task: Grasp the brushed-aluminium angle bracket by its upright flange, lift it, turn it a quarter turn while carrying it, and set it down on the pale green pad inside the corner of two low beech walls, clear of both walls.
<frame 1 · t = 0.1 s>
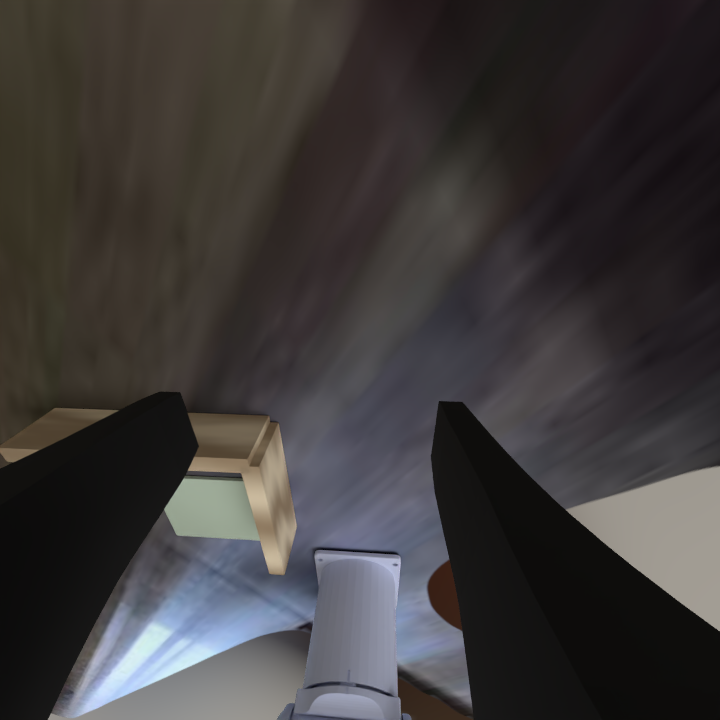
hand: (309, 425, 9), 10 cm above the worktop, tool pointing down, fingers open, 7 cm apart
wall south: (281, 480, 25), on the worktop
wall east: (162, 418, 23), on the worktop
pad: (209, 507, 28), on the worktop
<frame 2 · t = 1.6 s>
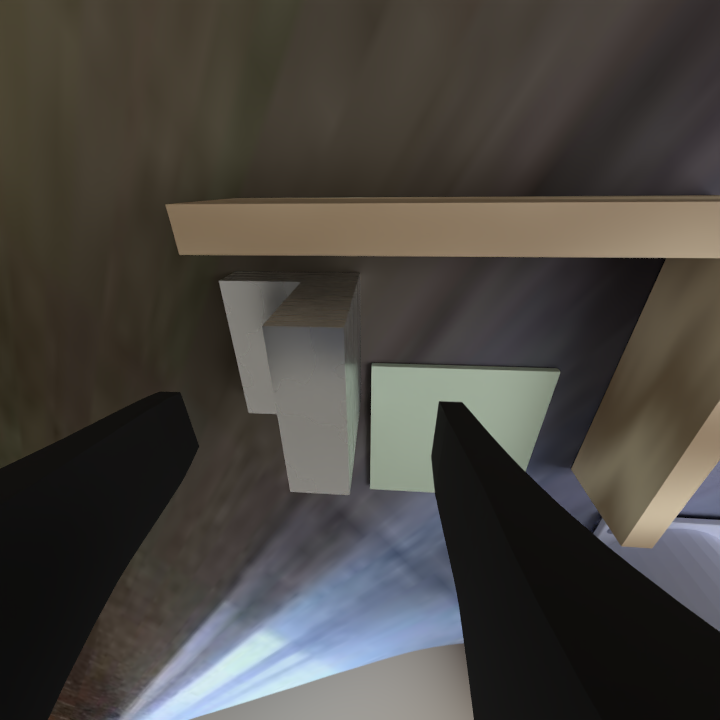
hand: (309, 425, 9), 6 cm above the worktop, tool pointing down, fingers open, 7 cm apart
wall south: (630, 370, 13), on the worktop
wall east: (459, 216, 11), on the worktop
pad: (450, 434, 16), on the worktop
bracket: (304, 340, 14), on the worktop
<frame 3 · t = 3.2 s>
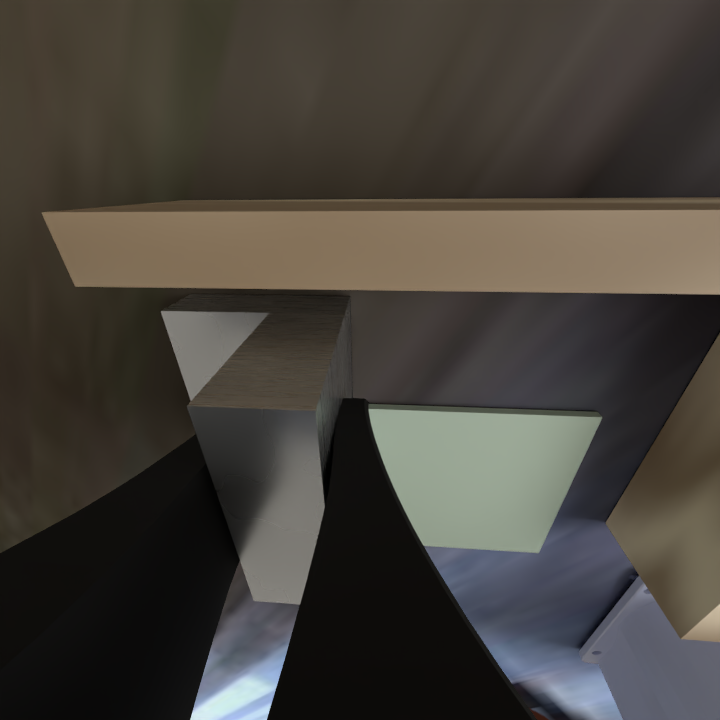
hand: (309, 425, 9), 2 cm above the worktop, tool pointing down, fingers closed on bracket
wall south: (689, 415, 11), on the worktop
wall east: (480, 224, 8), on the worktop
pad: (462, 484, 13), on the worktop
bracket: (281, 377, 11), on the worktop, touching gripper
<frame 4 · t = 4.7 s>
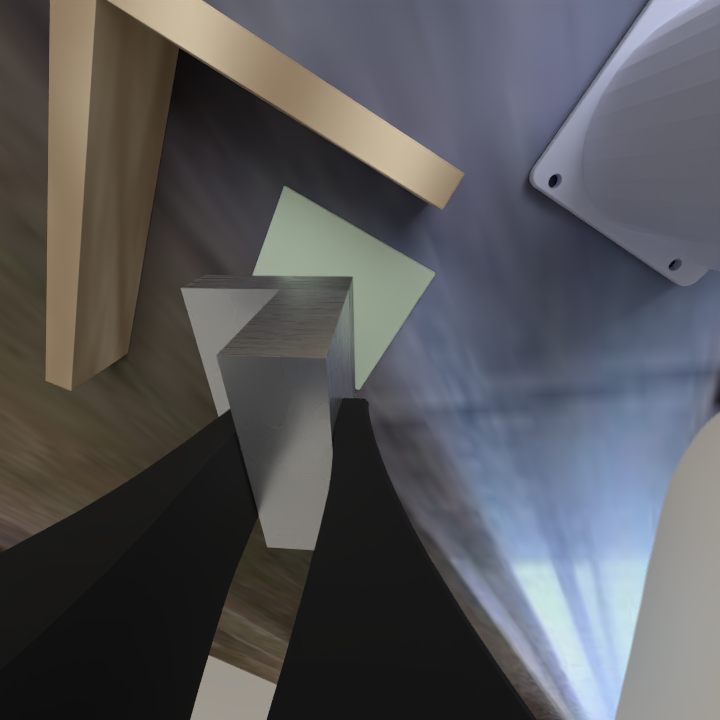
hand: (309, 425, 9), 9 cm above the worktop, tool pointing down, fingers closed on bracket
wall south: (312, 111, 13), on the worktop
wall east: (136, 223, 15), on the worktop
pad: (328, 301, 17), on the worktop
bracket: (289, 354, 12), point 6 cm above the worktop, touching gripper
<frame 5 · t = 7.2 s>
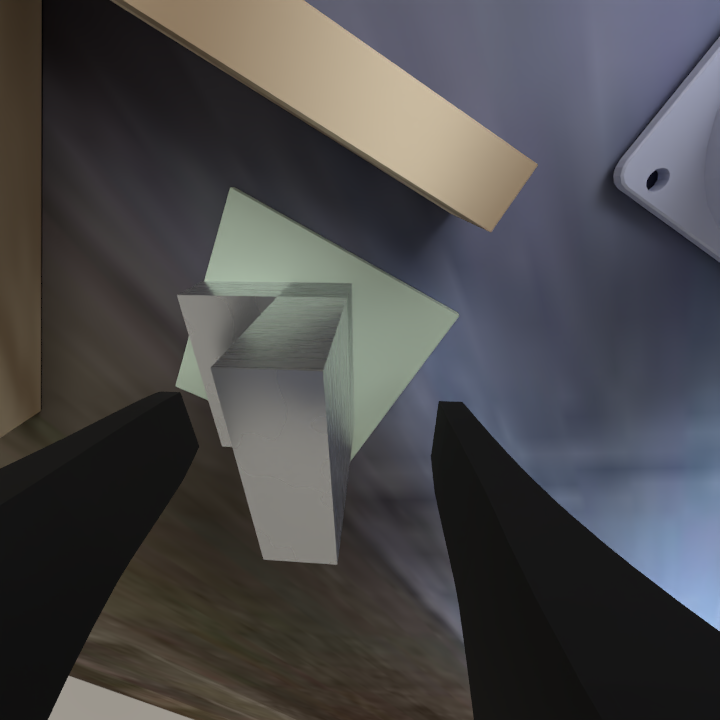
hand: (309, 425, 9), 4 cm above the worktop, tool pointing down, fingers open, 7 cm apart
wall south: (268, 67, 8), on the worktop
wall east: (22, 241, 11), on the worktop
pad: (305, 350, 12), on the worktop
bracket: (287, 361, 12), resting on pad
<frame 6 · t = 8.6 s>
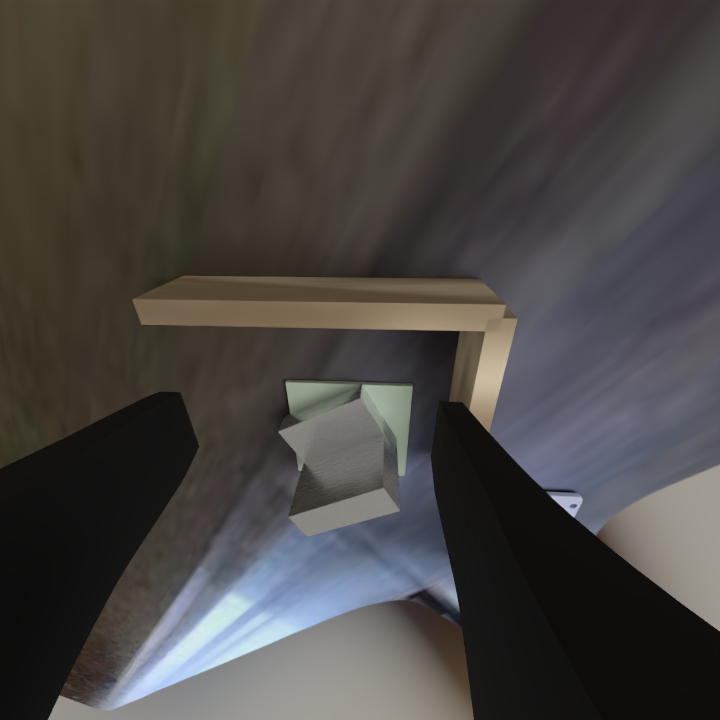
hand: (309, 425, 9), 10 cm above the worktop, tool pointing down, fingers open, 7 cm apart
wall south: (461, 385, 20), on the worktop
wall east: (327, 288, 17), on the worktop
pad: (350, 429, 22), on the worktop
bracket: (340, 427, 22), resting on pad
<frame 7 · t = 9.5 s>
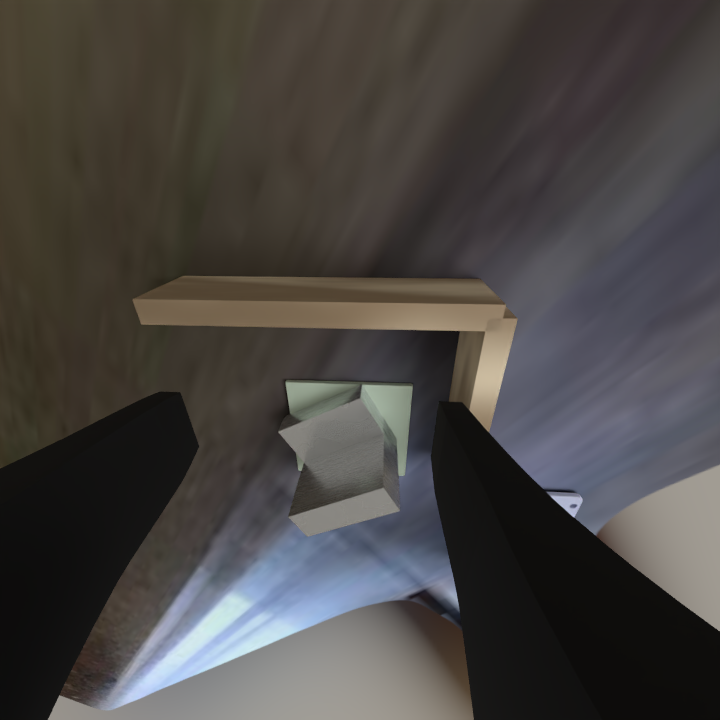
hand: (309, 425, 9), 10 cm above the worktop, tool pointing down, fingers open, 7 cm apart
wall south: (461, 385, 20), on the worktop
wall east: (327, 288, 17), on the worktop
pad: (350, 429, 22), on the worktop
bracket: (340, 427, 22), resting on pad
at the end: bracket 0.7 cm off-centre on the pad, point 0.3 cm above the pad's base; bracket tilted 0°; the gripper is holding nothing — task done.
